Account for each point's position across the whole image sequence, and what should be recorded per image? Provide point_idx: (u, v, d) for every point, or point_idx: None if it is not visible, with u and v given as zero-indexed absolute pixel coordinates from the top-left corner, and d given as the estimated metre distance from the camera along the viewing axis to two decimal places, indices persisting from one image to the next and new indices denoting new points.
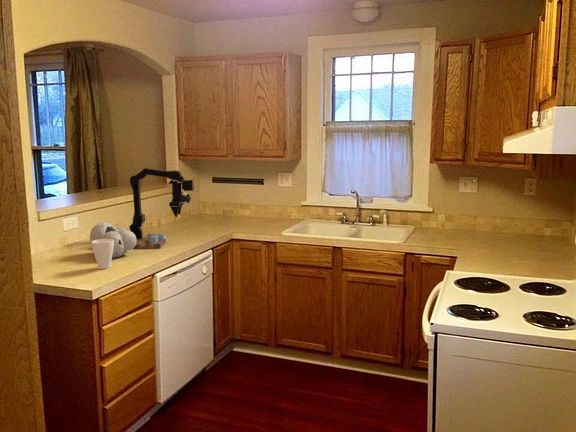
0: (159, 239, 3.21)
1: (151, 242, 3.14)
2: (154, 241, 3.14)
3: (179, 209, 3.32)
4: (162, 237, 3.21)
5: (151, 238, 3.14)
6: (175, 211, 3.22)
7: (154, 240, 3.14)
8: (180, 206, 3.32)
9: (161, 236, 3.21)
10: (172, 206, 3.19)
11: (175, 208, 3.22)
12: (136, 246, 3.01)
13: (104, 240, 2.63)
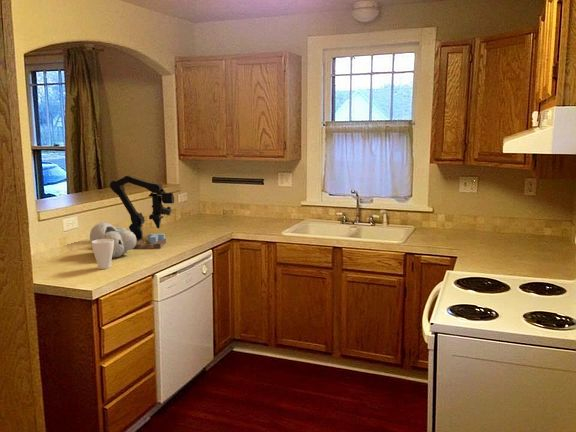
0: (159, 239, 3.21)
1: (151, 242, 3.14)
2: (154, 241, 3.14)
3: None
4: (162, 237, 3.21)
5: (151, 238, 3.14)
6: (157, 223, 3.27)
7: (154, 240, 3.14)
8: None
9: (161, 236, 3.21)
10: None
11: (157, 220, 3.26)
12: (136, 246, 3.01)
13: (104, 240, 2.63)
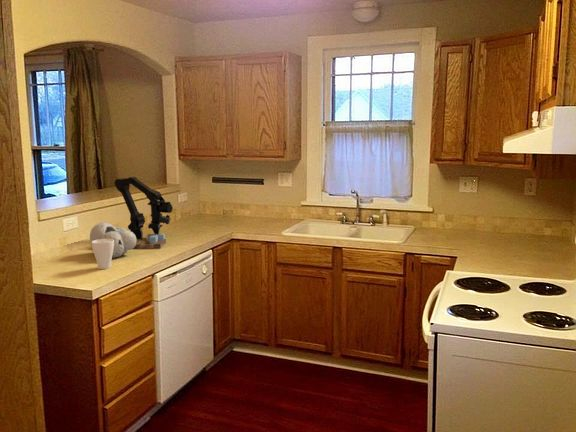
0: (159, 239, 3.20)
1: (151, 242, 3.14)
2: (154, 241, 3.13)
3: None
4: (162, 237, 3.20)
5: (151, 238, 3.13)
6: (156, 231, 3.23)
7: (154, 240, 3.13)
8: None
9: (161, 236, 3.20)
10: None
11: (156, 228, 3.23)
12: (136, 246, 3.01)
13: (104, 240, 2.63)
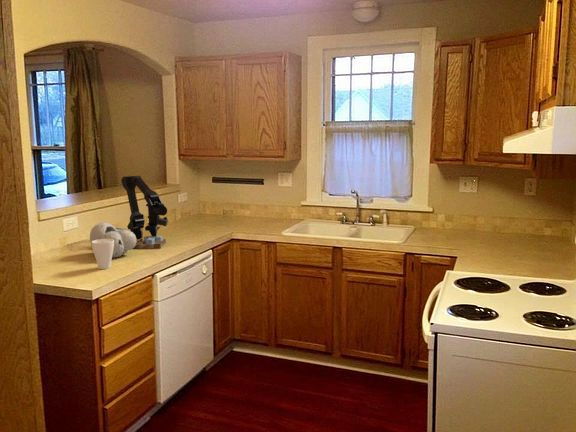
0: None
1: None
2: None
3: None
4: (159, 239, 3.13)
5: (147, 241, 3.06)
6: (153, 234, 3.16)
7: (150, 243, 3.06)
8: None
9: (158, 238, 3.13)
10: None
11: (153, 231, 3.16)
12: (136, 246, 3.01)
13: (104, 240, 2.63)
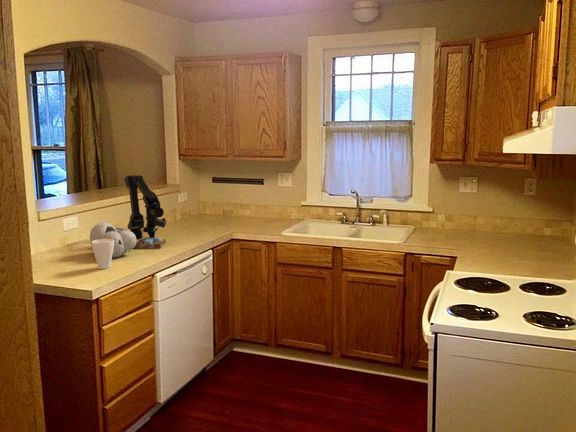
0: None
1: None
2: None
3: None
4: None
5: (145, 242, 3.03)
6: (151, 235, 3.13)
7: None
8: (154, 232, 3.14)
9: (156, 240, 3.09)
10: None
11: (151, 232, 3.12)
12: (136, 246, 3.01)
13: (104, 240, 2.63)
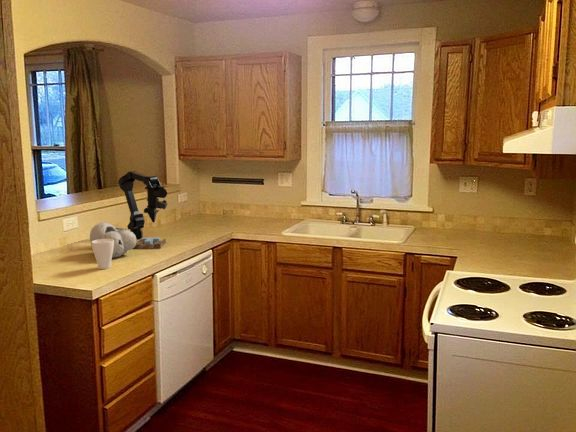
0: None
1: None
2: None
3: None
4: None
5: (146, 242, 3.02)
6: (152, 217, 3.16)
7: None
8: None
9: (156, 240, 3.09)
10: None
11: (152, 213, 3.16)
12: (136, 246, 3.01)
13: (104, 240, 2.63)
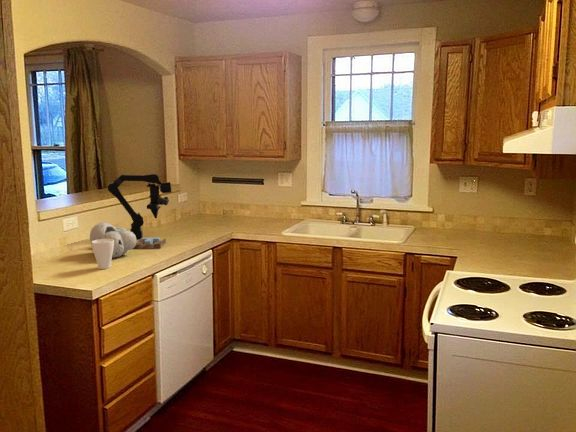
0: None
1: None
2: None
3: None
4: None
5: (146, 242, 3.02)
6: (154, 212, 3.31)
7: None
8: None
9: (156, 240, 3.09)
10: None
11: (154, 210, 3.30)
12: (136, 246, 3.01)
13: (104, 240, 2.63)
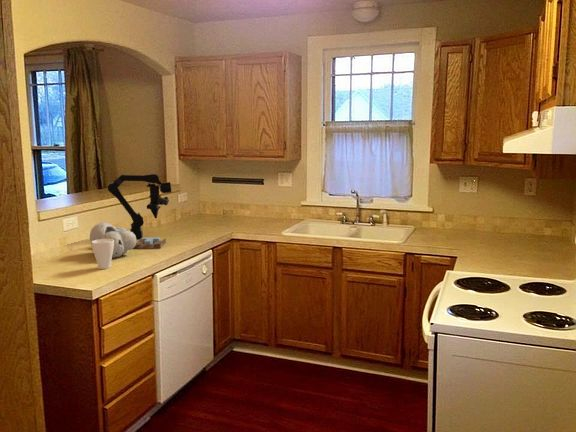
0: None
1: None
2: None
3: None
4: None
5: (146, 242, 3.02)
6: (154, 212, 3.31)
7: None
8: None
9: (156, 240, 3.09)
10: None
11: (154, 210, 3.30)
12: (136, 246, 3.01)
13: (104, 240, 2.63)
